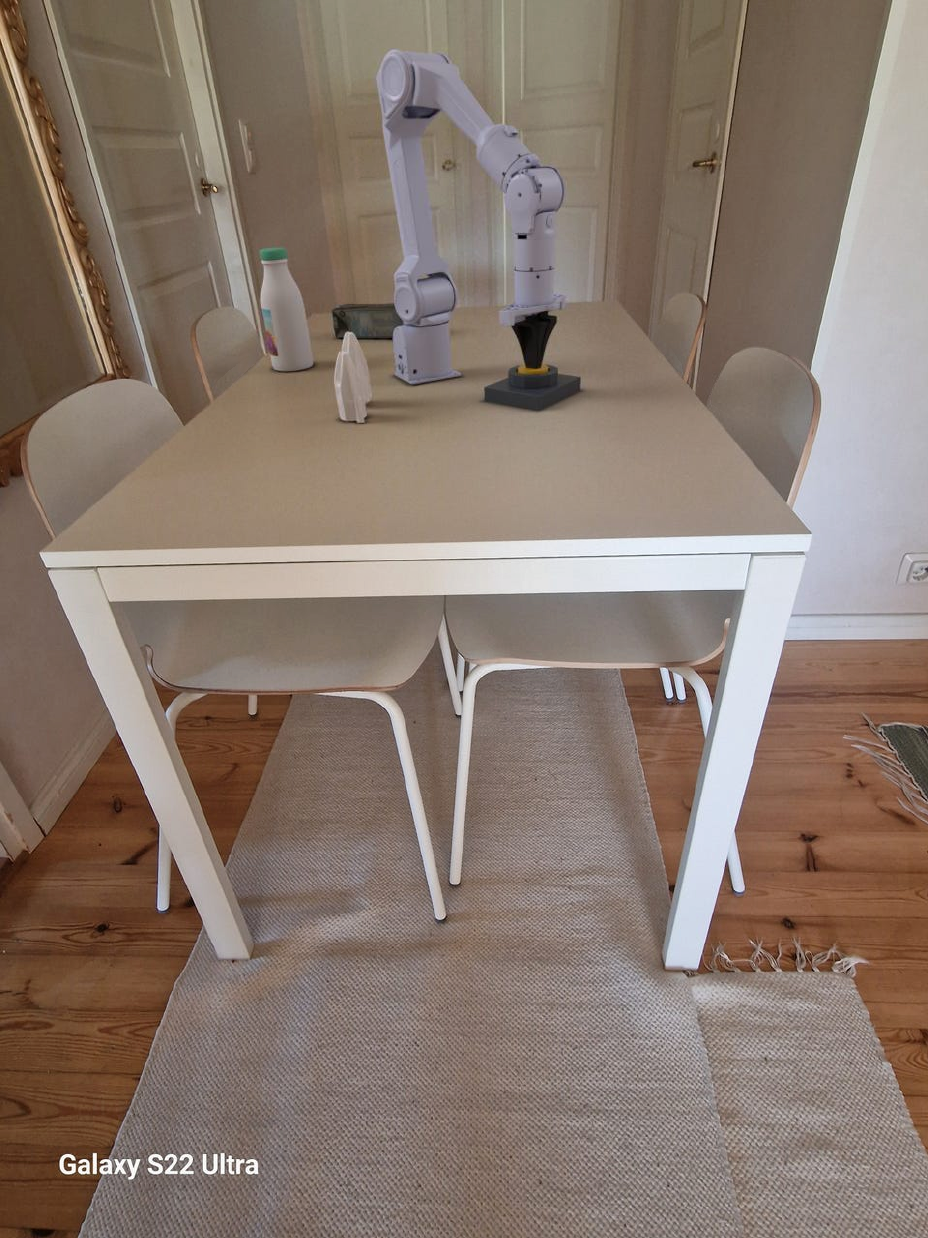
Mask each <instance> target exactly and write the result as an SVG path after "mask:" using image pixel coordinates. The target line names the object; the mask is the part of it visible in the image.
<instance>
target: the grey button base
mask: <svg viewBox="0 0 928 1238" xmlns="http://www.w3.org/2000/svg"><path fill="white" fill-rule="evenodd" d="M543 364H544V363H543ZM521 365H522V364H519V365H515V366H513V367H510V368H509V369H508V372H507V377H506V378H503V379H501V380H498V381H496V382H493V383H491V384H489V385H486V386H484V388H483V389H484V393H483V394H484V395H483V396H484V402H487V403H491V404H497V405H502V406H508V407H514V408H518V409H525V410H529V411H534V412H535V411H536V412H539V411H542V410H544V409H546V408H548V407H550V406H552V405H554V404H556V403H558V402H560V401H562V400H565V399H567V398H568V397H570V396H573V395H574V394H575V395H576V394H577V393H579V392H580V391H581V381H582V380H581V379H582V377H581V376H578V375H570V374H563V373H559V368H558V367H556V366H554V365H552V364H544V365H547V366H548V372H546V373H542V374H521V373H518V367H519V366H521Z"/></svg>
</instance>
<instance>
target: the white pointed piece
mask: <svg viewBox="0 0 928 1238" xmlns="http://www.w3.org/2000/svg"><path fill="white" fill-rule="evenodd" d="M333 377H334V378H333V384H334V385H333V386H334V393H335V397H336V404H337V409H338V414H339V417H340V419H341V420H342V421H345V422H353V421H354V422H355V421H356V422H357V423H358V424H362V423H366V421H365V418H366V417H367V416H368V412H367V407H366V405H367V404H368V403H369V402H371V400H372V398H373V392H372V385H371V379H370V373H369V366H368V361H367V359H366V356H365V354H364V352H363V350H362V348H361V345H360V343H359V341H358V338H356V337H355V335H354V333H352V332H346V333H345V336H344V338H343V341H342V346H341V351H339V352H338V354H337V358H336V362H335V367H334V376H333Z"/></svg>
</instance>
